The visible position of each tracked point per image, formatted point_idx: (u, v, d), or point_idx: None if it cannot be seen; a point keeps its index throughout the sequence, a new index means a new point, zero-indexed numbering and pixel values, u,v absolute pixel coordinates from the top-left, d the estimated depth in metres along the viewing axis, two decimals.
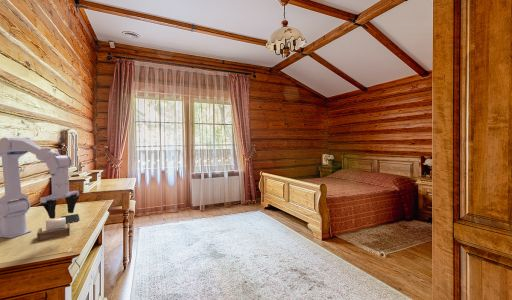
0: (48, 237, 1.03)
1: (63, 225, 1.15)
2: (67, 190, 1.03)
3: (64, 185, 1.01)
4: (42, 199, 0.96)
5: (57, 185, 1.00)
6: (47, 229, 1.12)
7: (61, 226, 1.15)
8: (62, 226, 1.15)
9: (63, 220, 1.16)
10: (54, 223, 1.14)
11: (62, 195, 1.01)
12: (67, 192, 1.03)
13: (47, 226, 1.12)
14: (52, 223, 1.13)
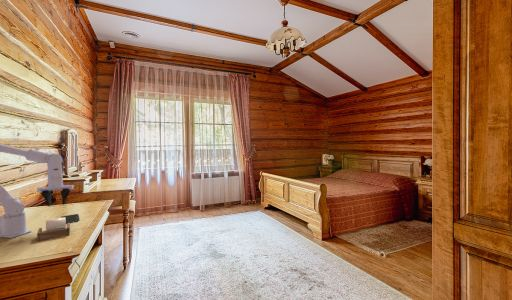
0: (48, 237, 1.03)
1: (63, 225, 1.15)
2: (55, 184, 1.18)
3: (51, 179, 1.18)
4: None
5: (48, 179, 1.18)
6: (47, 229, 1.12)
7: (61, 226, 1.15)
8: (62, 226, 1.15)
9: (63, 220, 1.16)
10: (54, 223, 1.14)
11: (49, 188, 1.17)
12: (55, 186, 1.18)
13: (47, 226, 1.12)
14: (52, 223, 1.13)
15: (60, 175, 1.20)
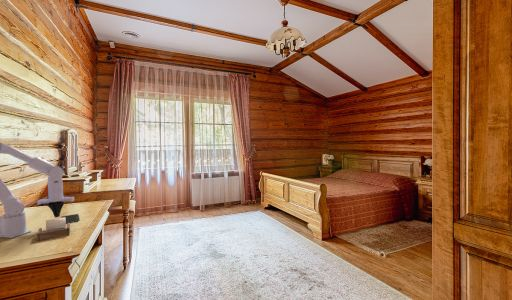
0: (48, 237, 1.03)
1: (63, 225, 1.15)
2: (55, 196, 1.18)
3: (52, 192, 1.18)
4: None
5: (48, 191, 1.18)
6: (47, 229, 1.12)
7: (61, 226, 1.15)
8: (62, 226, 1.15)
9: (63, 220, 1.16)
10: (54, 223, 1.14)
11: None
12: (55, 198, 1.18)
13: (47, 226, 1.12)
14: (52, 223, 1.13)
15: (60, 187, 1.20)
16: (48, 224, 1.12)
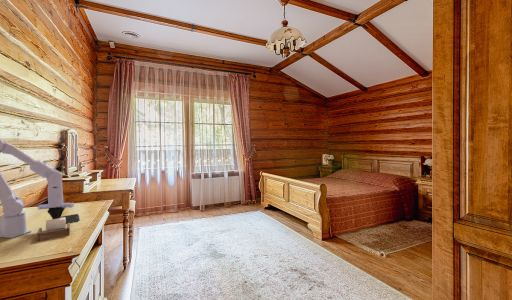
0: (48, 237, 1.03)
1: (63, 225, 1.15)
2: (54, 202, 1.16)
3: (51, 197, 1.16)
4: None
5: (48, 196, 1.17)
6: (47, 229, 1.12)
7: (61, 226, 1.15)
8: (62, 226, 1.15)
9: (63, 220, 1.16)
10: (54, 223, 1.14)
11: None
12: (54, 204, 1.16)
13: (47, 226, 1.12)
14: (52, 223, 1.13)
15: (60, 193, 1.18)
16: (48, 224, 1.12)
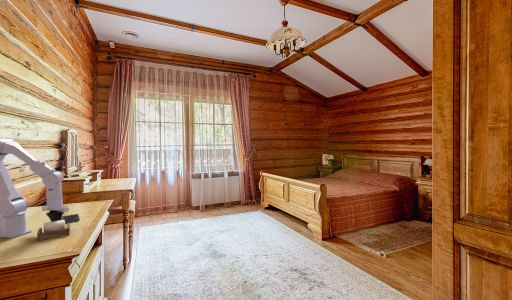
0: (48, 237, 1.03)
1: None
2: (49, 205, 1.10)
3: (47, 200, 1.10)
4: None
5: None
6: None
7: None
8: None
9: None
10: None
11: (46, 208, 1.11)
12: (49, 207, 1.10)
13: None
14: None
15: (56, 196, 1.11)
16: None
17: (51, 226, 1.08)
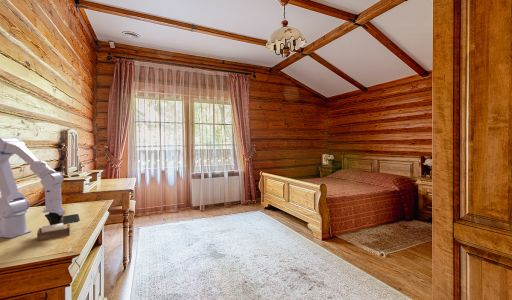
0: (48, 237, 1.03)
1: None
2: (47, 207, 1.07)
3: (45, 201, 1.08)
4: None
5: None
6: (44, 226, 1.06)
7: None
8: (60, 223, 1.09)
9: None
10: None
11: None
12: (47, 209, 1.07)
13: None
14: None
15: (53, 197, 1.08)
16: None
17: None
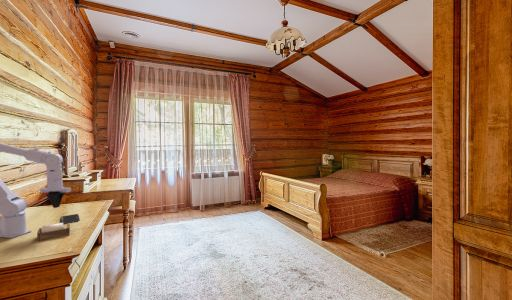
0: (48, 237, 1.03)
1: None
2: (51, 186, 1.13)
3: (48, 181, 1.12)
4: None
5: None
6: None
7: None
8: None
9: None
10: None
11: (47, 189, 1.13)
12: (51, 188, 1.13)
13: None
14: None
15: (57, 177, 1.14)
16: None
17: None
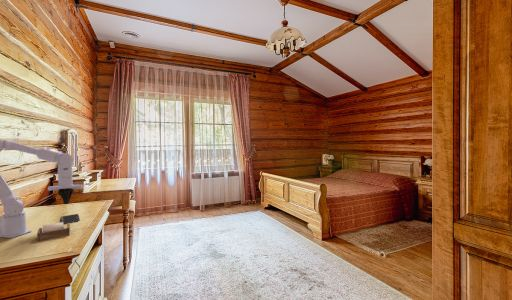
0: (48, 237, 1.03)
1: None
2: (64, 183, 1.20)
3: (61, 179, 1.19)
4: None
5: (58, 178, 1.20)
6: None
7: None
8: None
9: None
10: None
11: (59, 187, 1.19)
12: (64, 185, 1.20)
13: None
14: None
15: (70, 174, 1.22)
16: None
17: None
